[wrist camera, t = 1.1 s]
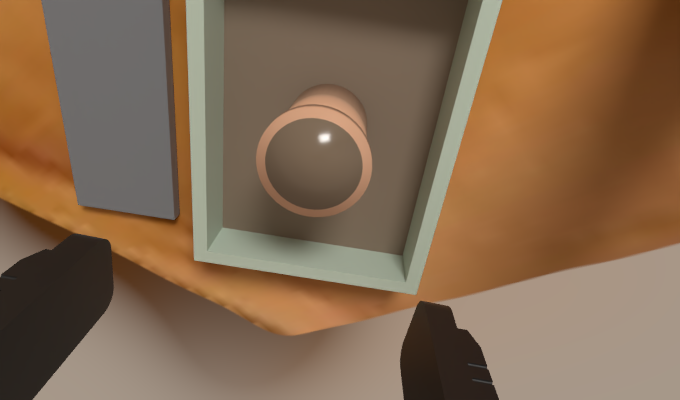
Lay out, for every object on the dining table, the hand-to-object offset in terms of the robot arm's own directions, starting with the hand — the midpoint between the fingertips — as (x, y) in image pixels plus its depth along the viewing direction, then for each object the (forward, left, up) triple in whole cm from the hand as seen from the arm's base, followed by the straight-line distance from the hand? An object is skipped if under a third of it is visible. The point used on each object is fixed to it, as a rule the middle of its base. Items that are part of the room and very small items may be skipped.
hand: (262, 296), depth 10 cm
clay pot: (0, +1, -20) cm, 20 cm away
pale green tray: (0, +1, -21) cm, 21 cm away
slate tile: (+16, +1, -21) cm, 26 cm away
